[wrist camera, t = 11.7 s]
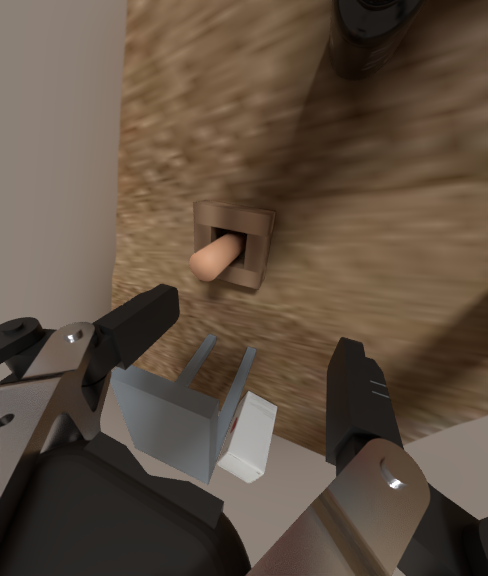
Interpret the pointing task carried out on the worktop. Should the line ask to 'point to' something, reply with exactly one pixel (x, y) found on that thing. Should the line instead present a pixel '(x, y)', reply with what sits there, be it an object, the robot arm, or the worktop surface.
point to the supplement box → (249, 438)
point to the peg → (217, 255)
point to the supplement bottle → (368, 33)
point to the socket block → (242, 220)
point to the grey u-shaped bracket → (178, 413)
